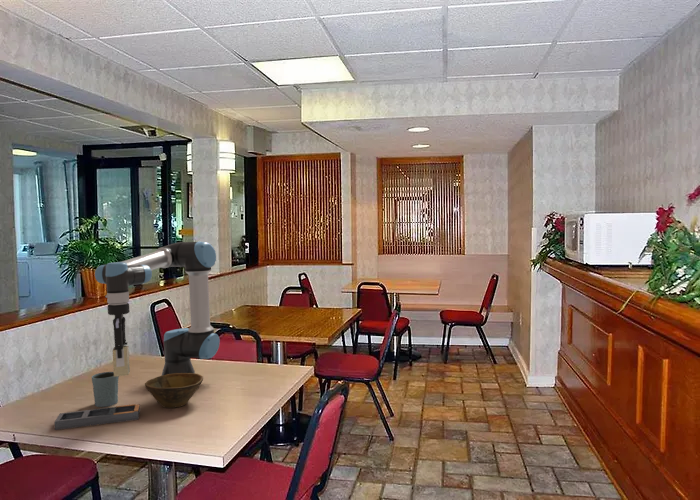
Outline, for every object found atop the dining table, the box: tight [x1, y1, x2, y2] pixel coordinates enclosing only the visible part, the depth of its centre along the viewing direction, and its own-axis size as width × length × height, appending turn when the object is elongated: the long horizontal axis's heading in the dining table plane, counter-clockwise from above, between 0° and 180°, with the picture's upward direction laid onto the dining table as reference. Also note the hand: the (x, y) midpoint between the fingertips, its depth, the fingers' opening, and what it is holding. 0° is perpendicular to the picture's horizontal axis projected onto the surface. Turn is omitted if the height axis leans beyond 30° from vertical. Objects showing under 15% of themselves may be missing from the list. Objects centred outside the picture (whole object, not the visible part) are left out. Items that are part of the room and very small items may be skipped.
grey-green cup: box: [91, 371, 120, 408], centre depth 218 cm, size 10×10×12 cm
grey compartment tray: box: [54, 403, 141, 431], centre depth 199 cm, size 28×9×3 cm, turn 108°
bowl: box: [144, 372, 204, 409], centre depth 216 cm, size 22×23×10 cm
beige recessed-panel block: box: [112, 345, 131, 377], centre depth 201 cm, size 5×5×10 cm
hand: (121, 364), depth 201 cm, fingers closed on beige recessed-panel block, 5 cm apart
